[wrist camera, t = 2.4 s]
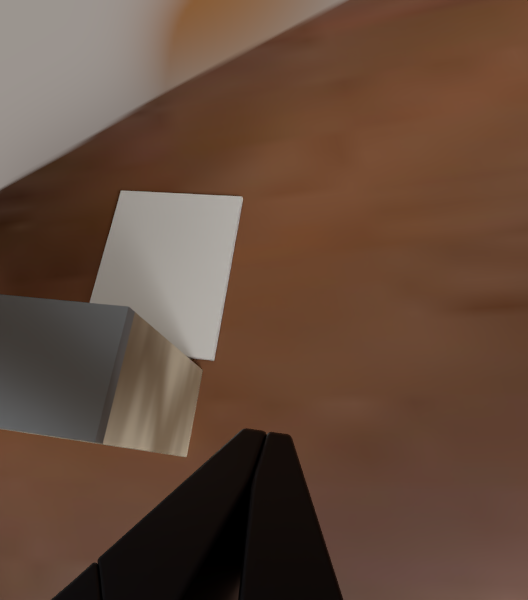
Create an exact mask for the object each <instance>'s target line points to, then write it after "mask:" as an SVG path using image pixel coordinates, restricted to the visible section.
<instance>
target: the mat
mask: <svg viewBox="0 0 528 600" xmlns="http://www.w3.org/2000/svg"><path fill="white" fill-rule="evenodd" d="M242 202H243V198H242V197H241V196H221V195H201V194H181V193H161V192H141V191H121V193H120V196H119V200H118V203H117V207H116V210H115V214H114V217H113V221H112V225H111V228H110V232H109V235H108V239H107V242H106V246H105V249H104V253H103V257H102V260H101V264H100V267H99V271H98V274H97V278H96V282H95V285H94V289H93V292H92V296H91V299H90V303H96V304H107V305H118V306H128V307H130V308H131V309H132V310H133V311H135V312H136V313H137V314H138V315H139V316H140V317H141V318H143V319H144V320H145V321H146V322H147V323H148V324H150V325H151V326H152V327H153V328H154V329H155V330H157V331H158V332H159V333H160V334H161V335H162V336H164V337H165V338H166V339H167V340H168V341H169V342H171V343H172V344H173V345H174V346H175V347H176V348H178V349H179V350H180V351H181V352H182V353H183V354H185V355H186V356H187V357H188V358H194V359H203V360H212V361H214V359H215V353H216V348H217V342H218V336H219V331H220V325H221V320H222V314H223V308H224V303H225V297H226V292H227V286H228V280H229V275H230V269H231V264H232V258H233V253H234V247H235V241H236V236H237V230H238V225H239V219H240V213H241V208H242Z"/></svg>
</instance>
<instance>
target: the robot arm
mask: <svg viewBox="0 0 528 600" xmlns="http://www.w3.org/2000/svg"><path fill="white" fill-rule="evenodd" d="M51 600H343V597H342V594H341V591H340V588H339V585H338V581H337V578H336V575H335V572H334V569H333V566H332V563H331V559H330V556H329V553H328V550H327V547H326V544H325V541H324V537H323V534H322V531H321V528H320V525H319V522H318V519H317V515H316V512H315V509H314V506H313V503H312V500H311V497H310V493H309V490H308V487H307V484H306V481H305V478H304V475H303V471H302V468H301V465H300V462H299V459H298V456H297V453H296V449H295V446H294V443H293V440H292V438H291V436H290V435H288V434H282V433H275V432H269V433H268V434H267V435H266V432H264V431H261V430H254V429H247V428H246V429H242V430H241V431H240V432H239V433H238V434H236V435H235V436H234V437H233V438H232V439H231V440H230V441H229V442H228V443H226V444H225V445H224V446H223V447H222V448H221V449H220V450H219V451H217V452H216V453H215V454H214V455H213V456H212V457H211V458H210V459H209V460H207V461H206V462H205V463H204V464H203V465H202V466H201V467H200V468H199V469H197V470H196V471H195V472H194V473H193V474H192V475H191V476H190V477H189V478H187V479H186V480H185V481H184V482H183V483H182V484H181V485H180V486H179V487H177V488H176V489H175V490H174V491H173V492H172V493H171V494H170V495H168V496H167V497H166V498H165V499H164V500H163V501H162V502H161V503H160V504H158V505H157V506H156V507H155V508H154V509H153V510H152V511H151V512H150V513H148V514H147V515H146V516H145V517H144V518H143V519H142V520H141V521H140V522H138V523H137V524H136V525H135V526H134V527H133V528H132V529H131V530H129V531H128V532H127V533H126V534H125V535H124V536H123V537H122V538H121V539H119V540H118V541H117V542H116V543H115V544H114V545H113V546H112V547H111V548H109V549H108V550H107V551H106V552H105V553H104V554H103V555H102V556H101V557H99V558H98V564H97V563H92V564H91V565H90V566H89V567H88V568H87V569H86V570H85V571H83V572H82V573H81V574H80V575H79V576H78V577H77V578H76V579H75V580H73V581H72V582H71V583H70V584H69V585H68V586H66V587H65V588H64V589H63V590H62V591H61V592H59V593H58V594H57V595H56V596H55V597H54V598H52V599H51Z"/></svg>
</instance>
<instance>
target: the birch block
mask: <svg viewBox="0 0 528 600" xmlns="http://www.w3.org/2000/svg"><path fill="white" fill-rule="evenodd" d="M202 372H203V370H202V369H201V368H200V367H199V366H197V365H196V364H195V363H194V362H193V361H192V360H190V359H189V358H188V357H187V356H186V355H185V354H183V353H182V352H181V351H180V350H179V349H178V348H176V347H175V346H174V345H173V344H172V343H171V342H169V341H168V340H167V339H166V338H165V337H164V336H162V335H161V334H160V333H159V332H158V331H157V330H155V329H154V328H153V327H152V326H151V325H150V324H148V323H147V322H146V321H145V320H144V319H143V318H141V317H140V316H139V315H138V314H137V313H136V312H135V311H133V310H132V309H131V308H130V307H128V306H118V305H107V304H96V303H86V302H75V301H65V300H54V299H43V298H33V297H22V296H11V295H1V294H0V429H4V430H10V431H17V432H23V433H30V434H36V435H43V436H49V437H56V438H62V439H69V440H76V441H82V442H89V443H96V444H103V445H109V446H116V447H123V448H129V449H136V450H143V451H150V452H156V453H163V454H170V455H176V456H183V457H187V452H188V447H189V441H190V436H191V431H192V425H193V420H194V415H195V409H196V404H197V398H198V393H199V388H200V382H201V377H202Z"/></svg>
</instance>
